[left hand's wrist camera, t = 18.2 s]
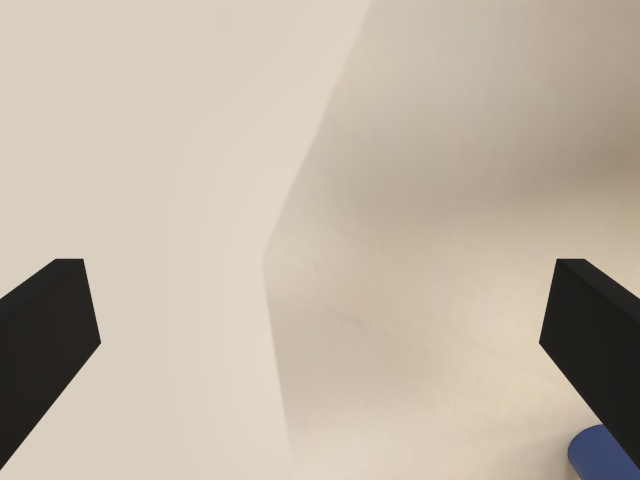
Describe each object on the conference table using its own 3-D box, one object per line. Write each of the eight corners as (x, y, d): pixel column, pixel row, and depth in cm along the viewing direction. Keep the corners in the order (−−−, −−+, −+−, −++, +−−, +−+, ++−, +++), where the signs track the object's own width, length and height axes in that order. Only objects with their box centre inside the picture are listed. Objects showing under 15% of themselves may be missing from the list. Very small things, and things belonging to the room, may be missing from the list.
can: (560, 469, 53) (601, 538, 46) (578, 421, 51) (625, 486, 43) (619, 473, 54) (670, 542, 46) (640, 426, 51) (698, 491, 43)
